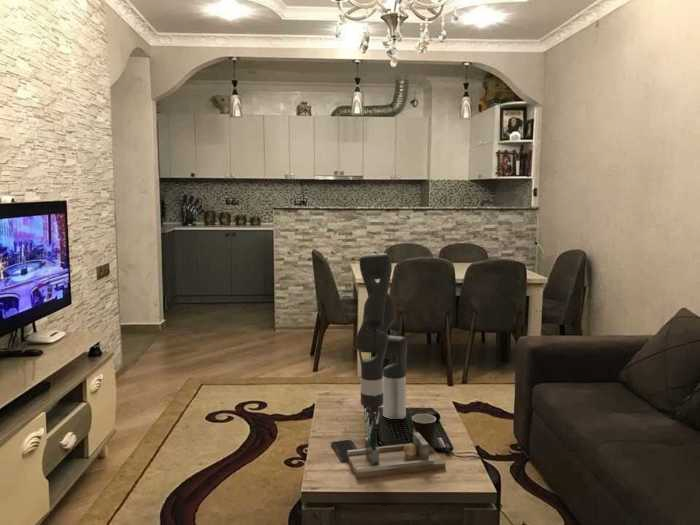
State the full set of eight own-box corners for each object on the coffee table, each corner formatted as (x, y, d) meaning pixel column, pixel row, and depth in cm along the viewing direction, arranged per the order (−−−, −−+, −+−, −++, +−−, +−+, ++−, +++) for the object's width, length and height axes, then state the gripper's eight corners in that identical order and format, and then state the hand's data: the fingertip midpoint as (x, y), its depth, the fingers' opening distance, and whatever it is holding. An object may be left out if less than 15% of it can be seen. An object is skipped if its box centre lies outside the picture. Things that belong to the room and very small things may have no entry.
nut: (401, 454, 204) (402, 441, 204) (414, 452, 205) (414, 440, 205) (406, 459, 200) (406, 447, 199) (418, 458, 201) (418, 446, 200)
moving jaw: (363, 453, 204) (363, 418, 202) (372, 452, 205) (372, 417, 203) (371, 467, 194) (371, 429, 193) (380, 466, 195) (380, 428, 193)
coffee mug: (434, 451, 211) (435, 423, 210) (410, 449, 213) (410, 422, 211) (436, 437, 222) (437, 411, 221) (413, 435, 224) (413, 410, 223)
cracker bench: (346, 458, 206) (346, 436, 204) (429, 449, 212) (429, 428, 211) (357, 479, 191) (357, 455, 190) (445, 468, 198) (445, 445, 197)
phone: (351, 439, 219) (363, 457, 205) (351, 442, 219) (363, 460, 205) (330, 442, 217) (341, 460, 203) (330, 445, 217) (341, 463, 203)
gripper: (355, 384, 202) (356, 433, 205) (366, 398, 189) (366, 450, 191) (377, 382, 204) (377, 431, 206) (389, 396, 190) (388, 448, 193)
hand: (372, 440), depth 199 cm, fingers closed on moving jaw, 3 cm apart
